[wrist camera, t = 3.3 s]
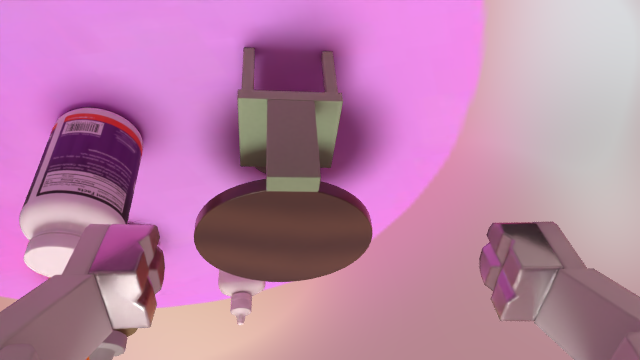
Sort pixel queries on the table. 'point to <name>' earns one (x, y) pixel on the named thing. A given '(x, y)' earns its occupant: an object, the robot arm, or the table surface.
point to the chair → (288, 129)
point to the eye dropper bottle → (239, 293)
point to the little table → (282, 232)
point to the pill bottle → (79, 185)
